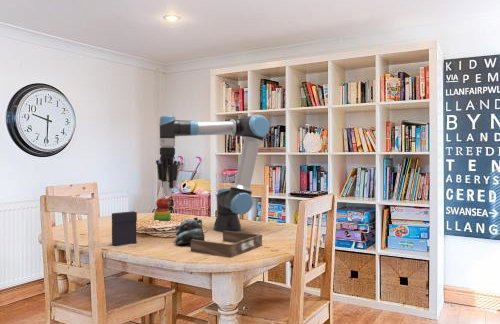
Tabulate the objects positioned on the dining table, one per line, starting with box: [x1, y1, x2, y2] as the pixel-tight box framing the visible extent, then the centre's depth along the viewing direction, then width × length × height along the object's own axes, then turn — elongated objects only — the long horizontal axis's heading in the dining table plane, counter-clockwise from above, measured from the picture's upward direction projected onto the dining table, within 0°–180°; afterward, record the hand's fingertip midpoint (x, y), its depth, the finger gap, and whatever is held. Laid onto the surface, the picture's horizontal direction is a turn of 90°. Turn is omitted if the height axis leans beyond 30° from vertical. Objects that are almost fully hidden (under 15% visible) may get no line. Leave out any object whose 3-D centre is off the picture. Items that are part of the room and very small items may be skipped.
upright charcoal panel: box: [111, 211, 138, 247], centre depth 208 cm, size 11×4×15 cm, turn 129°
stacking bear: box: [153, 197, 172, 222], centre depth 246 cm, size 11×10×18 cm
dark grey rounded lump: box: [174, 217, 206, 246], centre depth 210 cm, size 15×12×14 cm
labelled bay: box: [190, 231, 263, 258], centre depth 200 cm, size 26×22×5 cm
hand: (167, 194), depth 217 cm, fingers open, 2 cm apart
